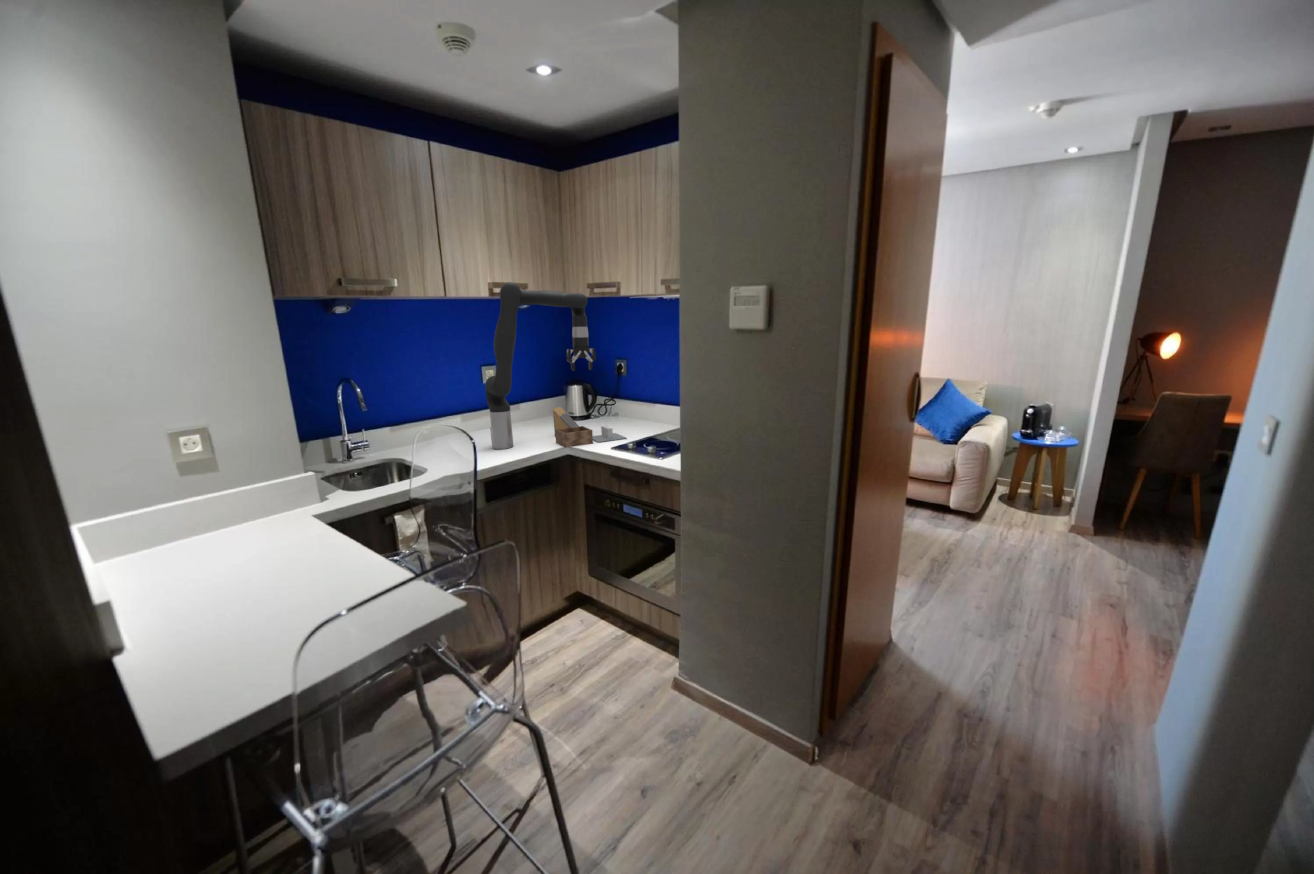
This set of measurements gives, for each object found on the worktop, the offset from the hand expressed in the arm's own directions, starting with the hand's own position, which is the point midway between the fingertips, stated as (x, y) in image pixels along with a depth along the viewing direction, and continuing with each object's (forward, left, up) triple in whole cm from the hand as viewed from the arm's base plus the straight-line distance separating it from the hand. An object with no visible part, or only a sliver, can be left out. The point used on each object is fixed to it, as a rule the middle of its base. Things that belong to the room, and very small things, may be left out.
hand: (581, 370), depth 256 cm
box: (-10, -11, -33) cm, 37 cm away
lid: (+7, -11, -34) cm, 36 cm away
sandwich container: (-5, +5, -34) cm, 35 cm away
